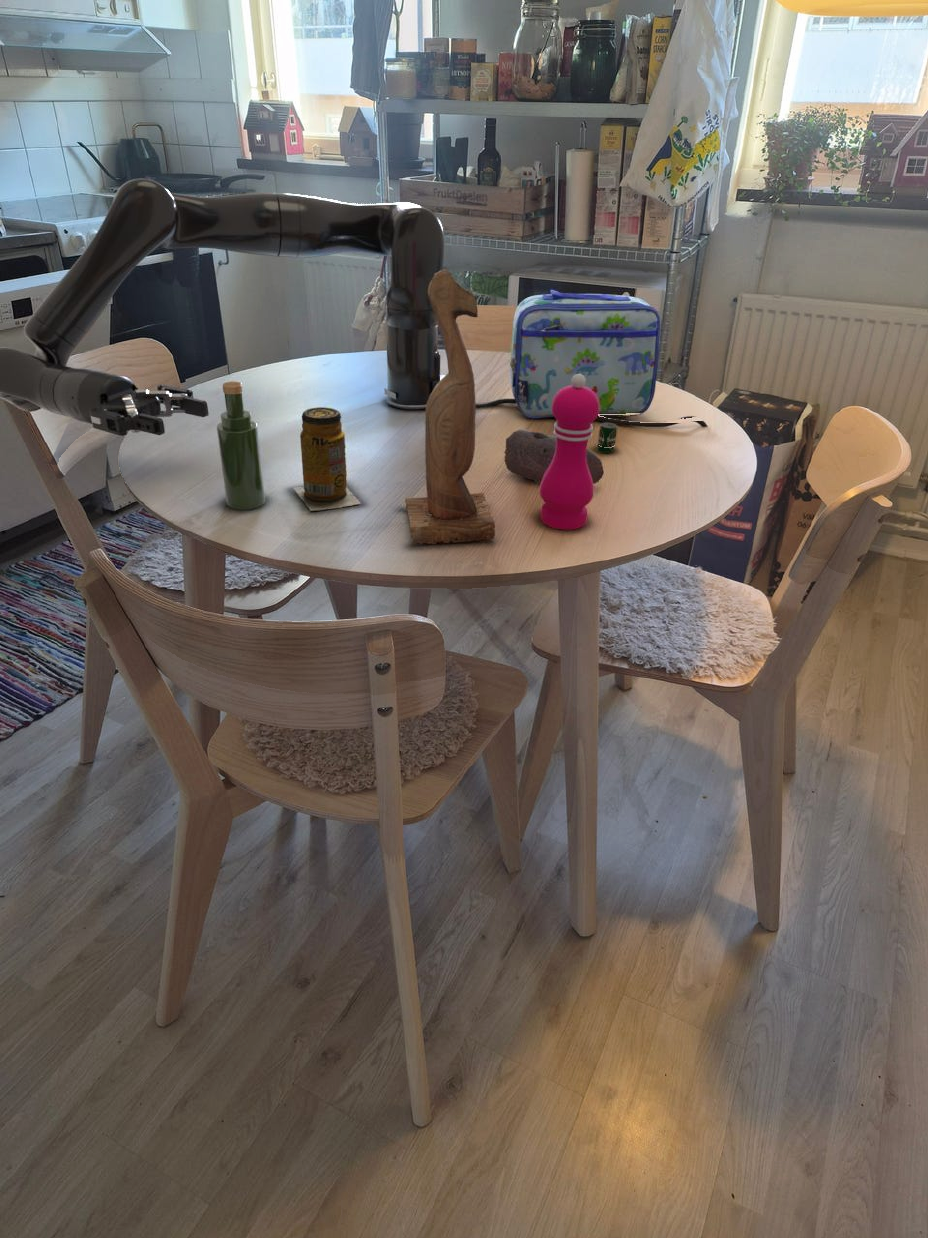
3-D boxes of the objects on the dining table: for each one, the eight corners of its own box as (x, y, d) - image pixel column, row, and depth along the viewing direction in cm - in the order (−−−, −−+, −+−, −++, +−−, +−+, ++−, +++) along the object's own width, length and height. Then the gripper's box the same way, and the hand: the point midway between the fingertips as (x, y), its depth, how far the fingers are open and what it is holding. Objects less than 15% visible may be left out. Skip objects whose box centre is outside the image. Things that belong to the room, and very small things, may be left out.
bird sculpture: (500, 541, 107) (517, 279, 89) (411, 547, 104) (411, 279, 87) (481, 505, 116) (493, 261, 99) (399, 510, 113) (396, 261, 96)
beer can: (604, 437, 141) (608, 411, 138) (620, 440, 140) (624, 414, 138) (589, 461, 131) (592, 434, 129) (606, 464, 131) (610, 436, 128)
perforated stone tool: (605, 484, 124) (611, 440, 120) (596, 497, 119) (602, 452, 116) (512, 466, 128) (515, 423, 125) (500, 478, 124) (503, 434, 121)
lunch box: (508, 420, 147) (516, 297, 135) (504, 401, 156) (511, 284, 144) (652, 424, 148) (672, 302, 136) (640, 405, 157) (658, 289, 145)
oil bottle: (264, 493, 117) (252, 377, 108) (265, 508, 113) (253, 389, 104) (226, 495, 116) (211, 378, 107) (226, 511, 111) (210, 391, 103)
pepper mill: (533, 509, 115) (545, 365, 105) (583, 508, 116) (601, 366, 105) (541, 532, 109) (555, 382, 99) (594, 531, 110) (614, 382, 99)
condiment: (341, 482, 121) (337, 402, 115) (361, 504, 115) (358, 421, 108) (293, 489, 118) (286, 407, 112) (310, 512, 112) (304, 427, 105)
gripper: (49, 384, 110) (141, 405, 104) (129, 360, 121) (216, 377, 115) (62, 438, 114) (151, 460, 108) (138, 410, 125) (223, 429, 119)
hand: (185, 417), depth 112 cm, fingers open, 8 cm apart
